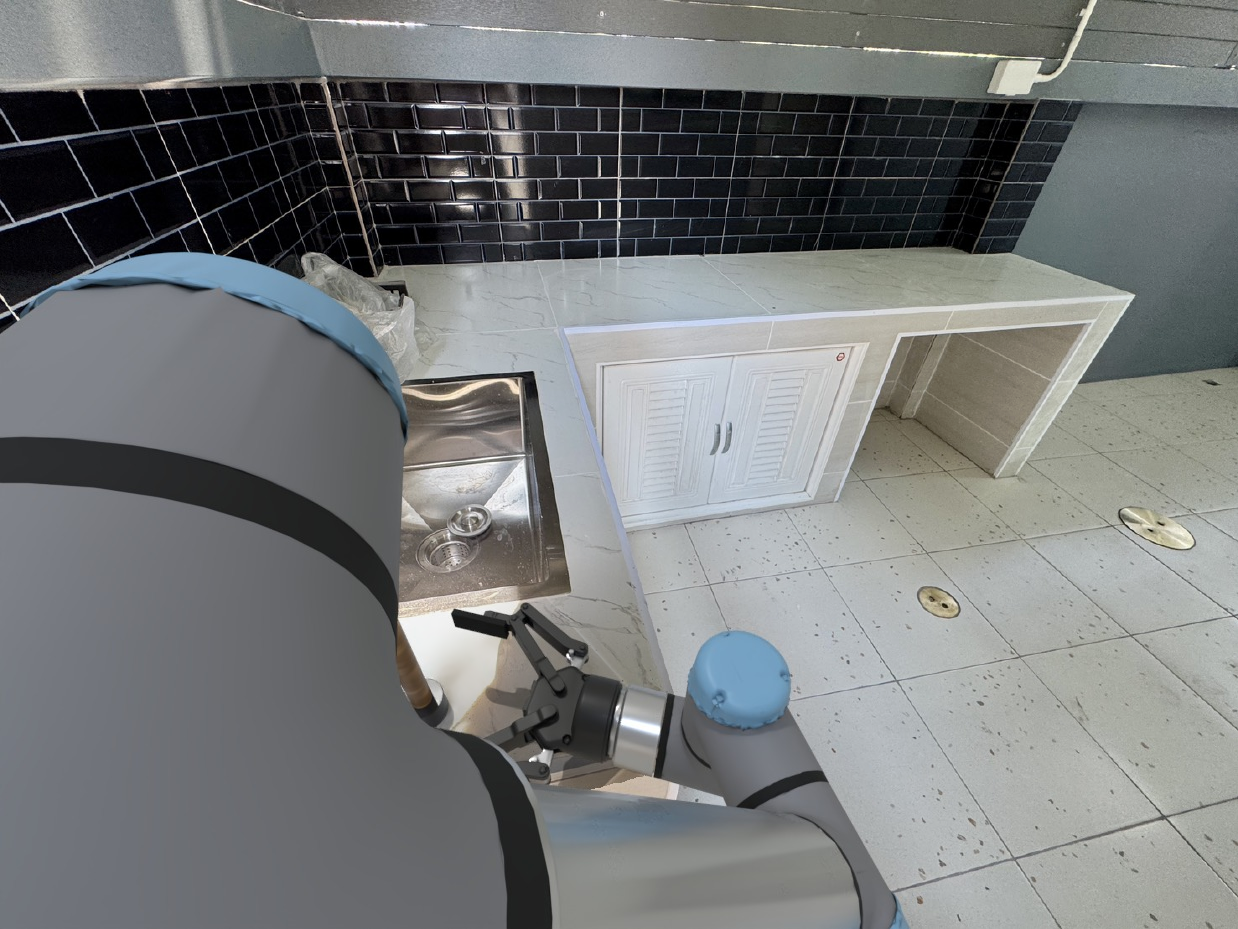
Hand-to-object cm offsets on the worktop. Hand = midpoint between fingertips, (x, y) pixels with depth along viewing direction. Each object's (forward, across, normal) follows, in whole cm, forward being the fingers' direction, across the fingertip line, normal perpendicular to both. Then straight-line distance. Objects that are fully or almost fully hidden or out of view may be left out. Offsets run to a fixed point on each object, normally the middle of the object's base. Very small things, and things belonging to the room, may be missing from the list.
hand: (423, 671), depth 54 cm
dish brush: (+2, 0, -10) cm, 10 cm away
